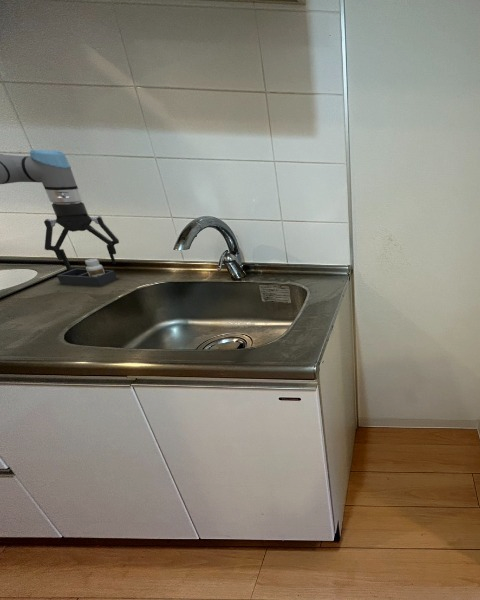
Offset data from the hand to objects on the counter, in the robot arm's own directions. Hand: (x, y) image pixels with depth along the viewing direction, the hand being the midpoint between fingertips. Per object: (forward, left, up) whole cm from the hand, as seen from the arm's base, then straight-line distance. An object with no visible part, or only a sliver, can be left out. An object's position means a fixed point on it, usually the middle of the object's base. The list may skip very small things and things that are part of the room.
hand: (92, 265), depth 110 cm
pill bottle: (0, 0, -6) cm, 6 cm away
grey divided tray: (-3, +2, -7) cm, 7 cm away
